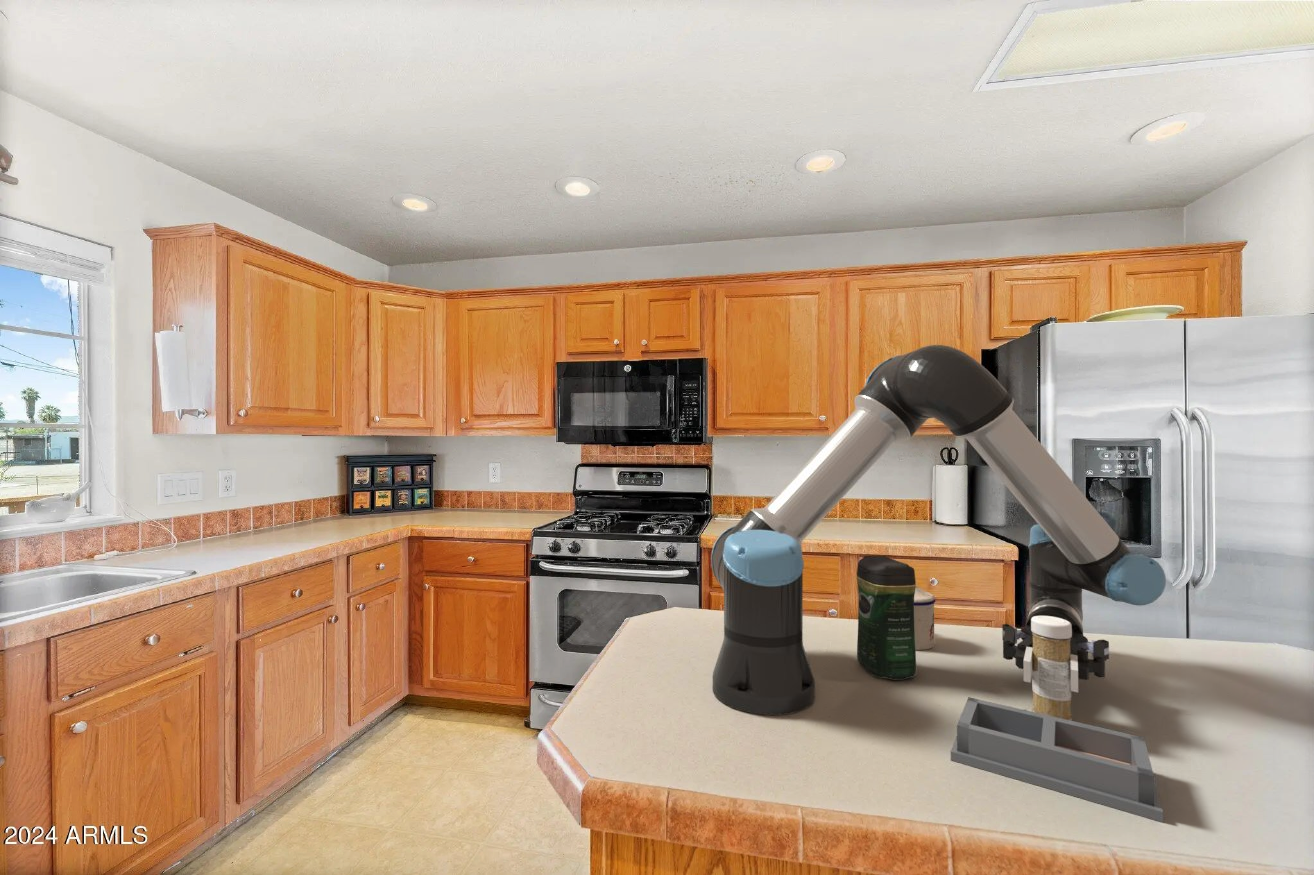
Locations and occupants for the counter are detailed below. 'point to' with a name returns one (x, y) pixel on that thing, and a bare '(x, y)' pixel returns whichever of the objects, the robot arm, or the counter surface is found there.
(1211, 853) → the counter surface
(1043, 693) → the sprinkles bottle
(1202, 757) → the counter surface
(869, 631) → the coffee jar
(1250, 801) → the counter surface
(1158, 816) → the bottle caddy
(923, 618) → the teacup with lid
